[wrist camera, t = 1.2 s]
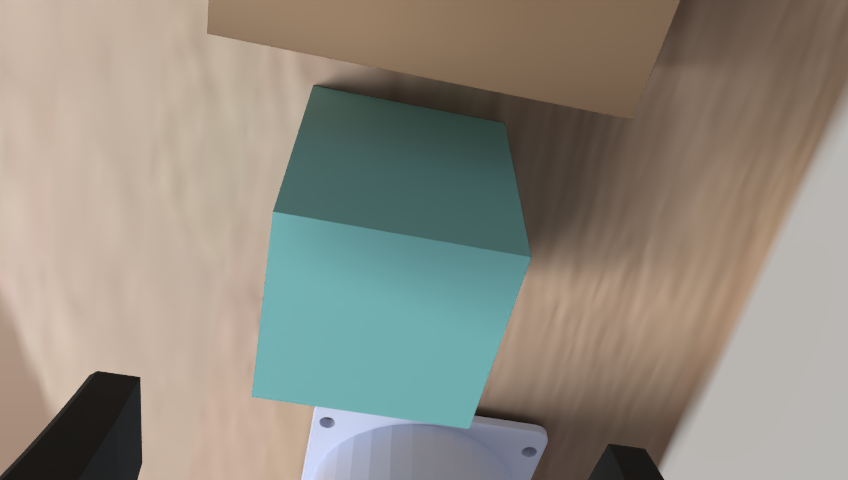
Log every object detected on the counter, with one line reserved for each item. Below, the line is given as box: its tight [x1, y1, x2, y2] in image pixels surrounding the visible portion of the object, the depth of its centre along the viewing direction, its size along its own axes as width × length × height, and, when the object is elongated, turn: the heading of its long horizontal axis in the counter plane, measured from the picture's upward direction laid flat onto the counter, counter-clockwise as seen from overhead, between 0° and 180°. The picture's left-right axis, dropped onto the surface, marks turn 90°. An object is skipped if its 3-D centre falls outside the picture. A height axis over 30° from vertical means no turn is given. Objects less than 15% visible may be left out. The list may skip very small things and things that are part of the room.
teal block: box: [252, 85, 531, 429], centre depth 18 cm, size 5×5×6 cm
